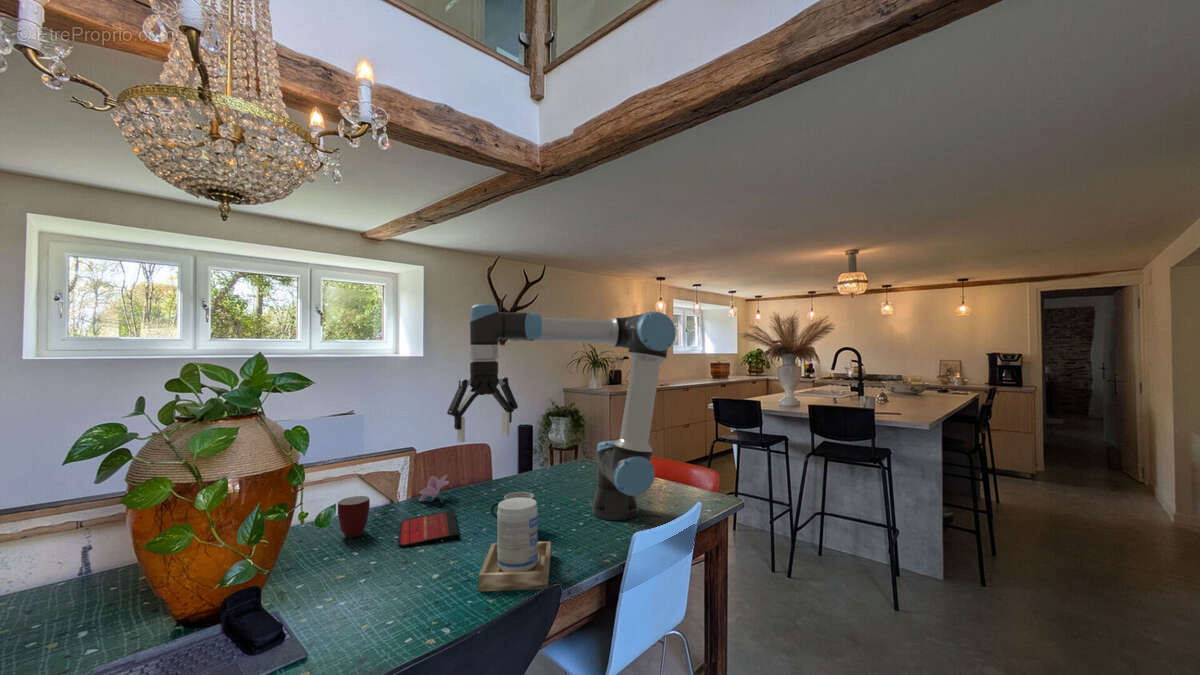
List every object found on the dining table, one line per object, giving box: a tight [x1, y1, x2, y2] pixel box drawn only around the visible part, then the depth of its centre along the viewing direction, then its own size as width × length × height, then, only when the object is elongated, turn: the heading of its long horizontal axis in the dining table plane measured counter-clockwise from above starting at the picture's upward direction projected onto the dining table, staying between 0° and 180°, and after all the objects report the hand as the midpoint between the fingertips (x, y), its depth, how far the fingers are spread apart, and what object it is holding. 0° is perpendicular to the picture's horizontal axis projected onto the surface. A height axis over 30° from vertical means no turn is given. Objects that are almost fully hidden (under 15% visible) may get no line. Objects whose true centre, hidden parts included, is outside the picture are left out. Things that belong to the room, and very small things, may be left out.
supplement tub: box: [496, 498, 539, 572], centre depth 110 cm, size 10×10×15 cm
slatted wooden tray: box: [478, 540, 552, 593], centre depth 110 cm, size 15×17×4 cm
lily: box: [418, 474, 450, 504], centre depth 162 cm, size 12×12×10 cm
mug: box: [337, 495, 371, 538], centre depth 133 cm, size 11×8×10 cm
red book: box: [397, 509, 460, 549], centre depth 136 cm, size 16×2×21 cm
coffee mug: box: [490, 491, 535, 519], centre depth 135 cm, size 12×9×10 cm
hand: (484, 438), depth 127 cm, fingers open, 13 cm apart
